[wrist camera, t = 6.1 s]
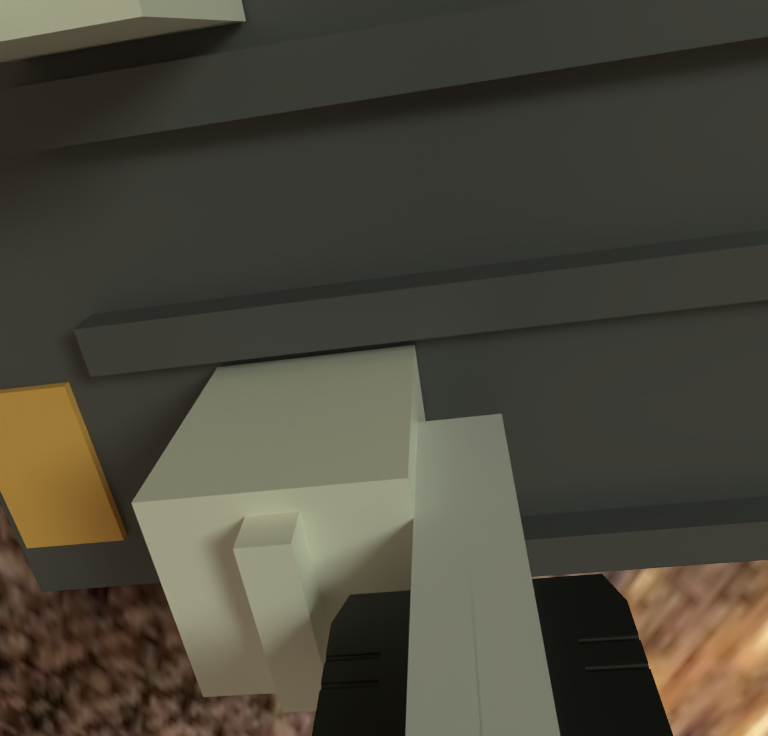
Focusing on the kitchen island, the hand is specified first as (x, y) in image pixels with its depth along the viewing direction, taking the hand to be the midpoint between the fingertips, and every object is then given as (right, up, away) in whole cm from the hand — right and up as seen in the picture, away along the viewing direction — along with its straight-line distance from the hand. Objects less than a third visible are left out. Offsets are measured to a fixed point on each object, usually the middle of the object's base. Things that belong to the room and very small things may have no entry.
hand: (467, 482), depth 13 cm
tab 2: (-3, +1, +2) cm, 3 cm away
